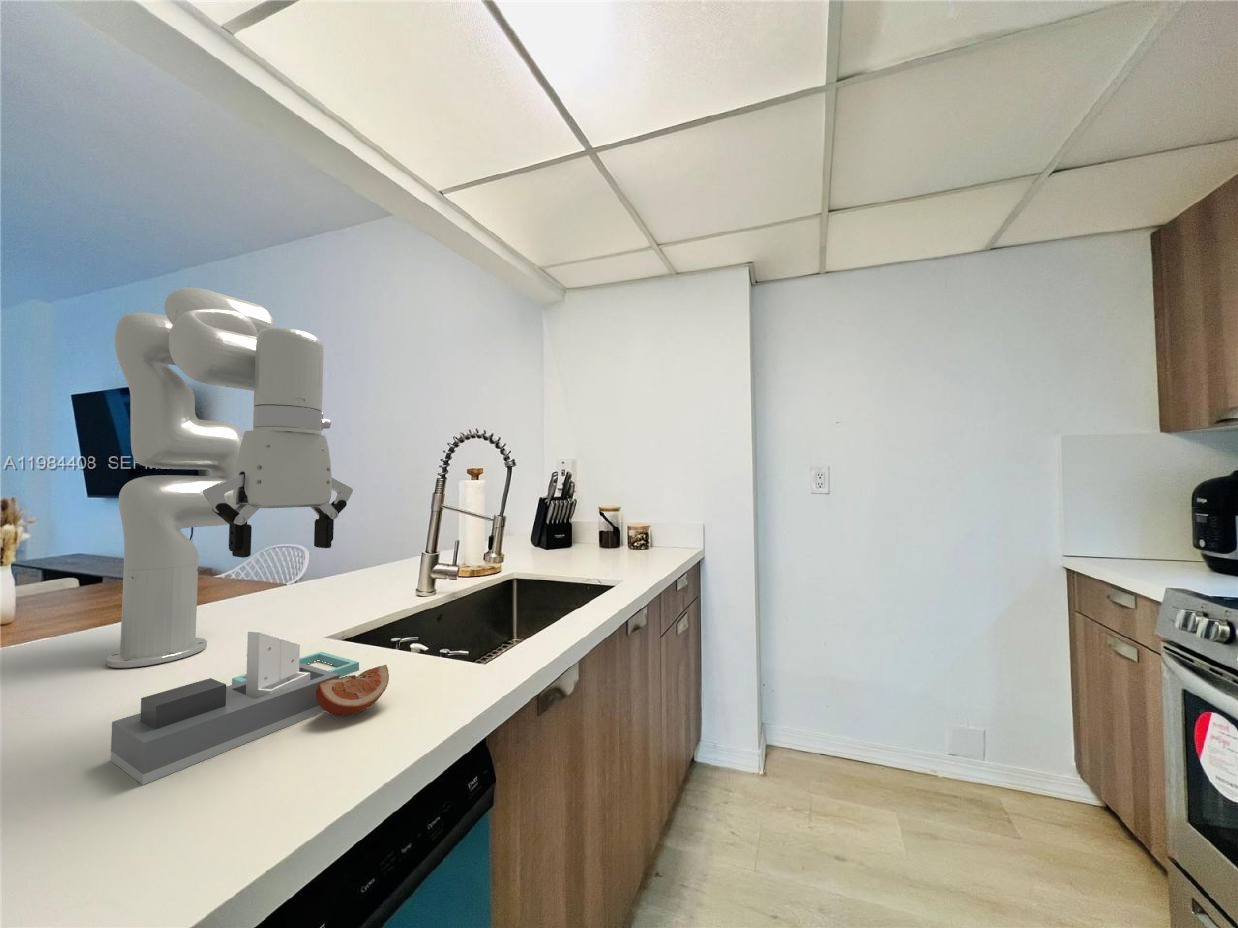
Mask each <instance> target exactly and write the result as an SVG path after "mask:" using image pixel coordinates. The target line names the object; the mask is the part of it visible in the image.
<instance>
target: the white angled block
mask: <svg viewBox="0 0 1238 928" xmlns="http://www.w3.org/2000/svg"><path fill="white" fill-rule="evenodd" d="M246 644H247V647H246V674H247V675H246V695H247V696H249V697H252V698H254V699H257V698H260V697H263V696H266V695H269V694H272V693H275V692H278V691H281V690H284V689H286V688H289V687H292V686H295V685H298V684H301V683H304V682H307V681H310V673H306V672H299V658H301V657H300V656H301V655H300V653H301V652H300V648H301V645H300V644H298V643H295V642H291V641H289V640H285V639H281V638H279V637H276V636H273V635H269V634H266V633H262V632H255V631H247V643H246Z"/></svg>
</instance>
